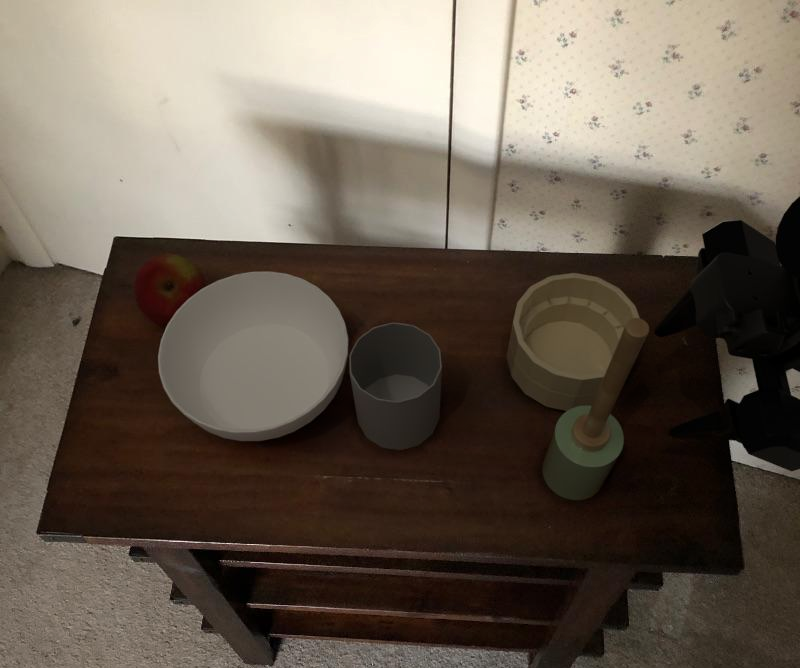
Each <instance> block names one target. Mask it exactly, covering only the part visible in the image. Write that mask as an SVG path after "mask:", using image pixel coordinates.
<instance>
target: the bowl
mask: <svg viewBox="0 0 800 668" xmlns="http://www.w3.org/2000/svg"><path fill="white" fill-rule="evenodd" d="M159 343H160V344H159V348H158V355H157V363H158V375H159V378H160V382H161V384H162V388H163V390H164V392H165V393H166V395H167V397H168V398H169V400H170V402H171V403H172V405H174V407H176V408H177V409H178V410H179V411H180V412H181V413H182V415H184V416H185V417H186V418H188V419H189V420H190V421H191V422H193V423H194V424H195V425H197V426H199V427H200V428H201V429H203V430H205V431H206V432H208V433H209V434H211V435H215V436H217V437H220V438H223V439H226V440H227V439H228V440H232V441H237V442H238V441H239V442H262V441H268V440H272V439H278V438H281V437H283V436H287V435H288V434H291V433H294V432H296V431H297V430H299V429H301V428H303V427H305V426H306V425H308V424H310V423H311V422H312V421H314V420H315V419H316V418H317V417H318V416H319V415H320V414H322V413H323V412H324V411H325V410H326V408H327V407H328V406H329V404H330V403H332V401H333V399H334V398H335V396H336V394H337V393H338V390H339V389H340V387H341V385H342V382H343V379H344V374H345V370H346V366H347V361H348V358H349V357H348V356H349V335H348V329H347V324H346V322H345V320H344V318H343V316H342V313H341V311H340V309H339V307H338V306H337V305H336V304H335V303H334V301H333V300H332V299H331V297H330V296H329V295H327V294H326V293H325V292H324V291H323V290H322V289H321V288H319V287H318V286H317V285H315V284H313V283H311V282H309V281H307V280H305V279H304V278H300V277H298V276H294V275H292V274H289V273H283V272H277V271H249V272H248V271H247V272H242V273H237V274H233V275H230V276H228V277H225V278H221V279H218V280H216V281H214V282H212V283H210V284H207V286H206V287H205V288H203V289H201V290H200V291H198V292H197V293H196V294H194V295H193V296H192V297H190V298H189V299H188V300H187V301H186V302H185V303H184V304H183V305H182V306H181V307H180V308H179V309H178V310H177V311H176V313H175V314H174V316H173V317H172V319H171V320H170V322H169V323H168V325H167V327H166V328H165V329H164V332H163V334H162V337H161V339H160V342H159Z"/></svg>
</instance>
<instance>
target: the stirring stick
mask: <svg viewBox="0 0 800 668" xmlns="http://www.w3.org/2000/svg"><path fill="white" fill-rule="evenodd" d="M649 333H650V326H649V324H648V323H647V321H646V320H644V319H643V318H641V317H639V318H633V319H630V320H629V321H628V322H627V323H626V325H625V328H624V330H623V332H622V335H621V337H620V339H619V342H618V344H617V347H616V349H615V351H614V354H613V356H612V359H611V361H610V363H609V366H608V368H607V370H606V373H605V375H604V378H603V380H602V382H601V385H600V387H599V390H598V392H597V394H596V397H595V399H594V402H593V404H592V406H591V409H590V411H589V413H588V414H584V415H581V416H580V417H578V418H577V419H576V421H575V422H574V425H573V427H572V430H571V437H572V440H573V442H574V443H575V445H576V446H577V447H579V448H580V449H582V450H584V451H588V452H595V451H598V450H601V449H602V448H603V447H604V446H605V445H606V443H607V441H608V439H609V437H610V434H611V430H610V426H609V424H608V423H607V419H608V417H609V415H610V414H611V413H612V411H613V409H614V407H615V404H616V402H617V400H618V398H619V396H620V394H621V392H622V389H623V387H624V385H625V383H626V381H627V379H628V377H629V375H630V373H631V371H632V369H633V366H634V364H635V363H636V360H637V358H638V356H639V354H640V352H641V350H642V348H643V345H644V344H645V342H646V339H647V337H648V335H649Z"/></svg>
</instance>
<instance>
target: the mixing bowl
mask: <svg viewBox="0 0 800 668" xmlns="http://www.w3.org/2000/svg"><path fill="white" fill-rule="evenodd" d="M633 318H640V315H639V311H638V309H637V307H636V305H635V304H634V302H632V300H631V299H630V298H629V297H628V296H627V295H626V294H625V293H624V291H622V290H621V288H620V287H618V286H616V285H614V284H612V283H610V282H608V281H607V280H604V279H602V278H600V277H599V276H594V275H588V274H583V273H577V272H570V273H562V274H555V275H549V276H548V277H545V278H544V279H542V280H539V281H538V282H535V283H534V284H532V285H530V286H529V287H528V288H527V290H526V291H525V293H523V295H522V296H521V297H520V298H519V300H518V301H517V303H516V308H515V311H514V315H513V319H512V324H511V325H512V326H511V331H510V336H509V341H508V345H507V352H506V359H507V365H508V368H509V372H510V377H511V378H512V379H513V380H514V382H515V383H516V384H517V386H518V387H519V389H521V391H522V392H523V394H524V395H525V396H528V397H529V398H531V399H533V400H534V401H535V402H537V403H539V404H541V405H543V406H544V407H545V408H550V409H555V410H561V411H565V412H566V411H568V410H570V409H572V408H574V407H578V406H592V404H593V402H594V399H595V397H596V394H597V392H598V390H599V387H600V385H601V382H602V380H603V378H604V375H605V373H606V370H607V368H608V366H609V363H610V361H611V359H612V356H613V354H614V351H615V349H616V347H617V344H618V342H619V339H620V337H621V335H622V332H623V330H624V328H625V325H626V323H627V322H628V321H629V320H630V319H633Z"/></svg>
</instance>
